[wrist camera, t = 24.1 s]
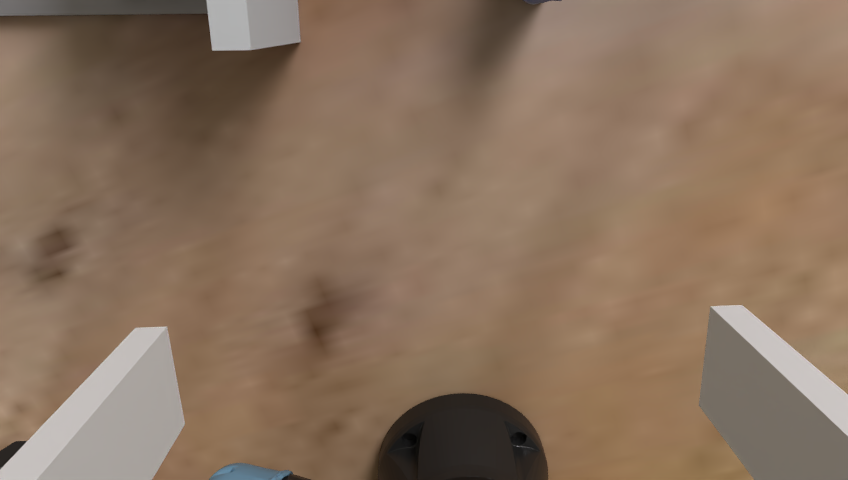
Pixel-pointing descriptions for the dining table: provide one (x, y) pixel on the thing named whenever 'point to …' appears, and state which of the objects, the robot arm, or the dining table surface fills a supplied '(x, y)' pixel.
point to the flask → (537, 1)
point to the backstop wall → (224, 3)
